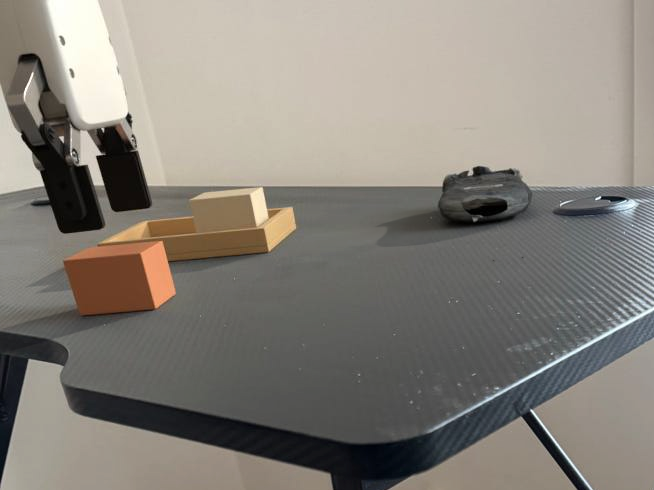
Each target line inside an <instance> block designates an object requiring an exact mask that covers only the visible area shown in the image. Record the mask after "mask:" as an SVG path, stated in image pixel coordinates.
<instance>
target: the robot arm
mask: <svg viewBox="0 0 654 490" xmlns="http://www.w3.org/2000/svg"><path fill="white" fill-rule="evenodd" d="M111 40H112V39H111V37H110V34H109V31H108V28H107V24H106V21H105V18H104V15H103V13H102V9H101V6H100V2H99V0H0V88H1V92H2V95H3V98H4V101H5V104H6V108H7V110H8V115H9V117H10V120H11V122H12V125H13V127H14V128H15V130H16V131H17V132H18V133H19V134H20V138H21V141H22V142H23V143H24V144H25V145H26V147H27V148H28V149H29V150H30V151H31V159H32V163H33V165H34V167H35V168H36V170H37V171H38V172H39V174H40V177H41V180H42V183H43V186H44V189H45V192H46V196H47V198H48V201H49V204H50V208H51V210H52V213H53V216H54V219H55V223H56V226H57V228H58V230H59V232H60V233H62V234H63V235H66V234H68V235H69V234H76V233H86V232H92V231H101V230H103V229H104V228H105V227H106V220H105V217H104V215H103V210H102V207H101V203H100V201H99V197H98V194H97V191H96V188H95V184H94V180H93V178H92V174H91V170H90V168H89V164H81V131H82V132H87V133H88V135H89V137H90V138H91V140H92V141H93V143H94V145H95V147H96V148H97V150H98V151H99V153H100V154H99V155H95V159H96V162H97V165H98V170H99V172H100V173H99V174H100V176H101V179H102V182H103V186H104V189H105V193H106V196H107V199H108V202H109V203H108V204H109V206H110V209H111V210H112V212H115V213H122V212H132V211H139V210H140V211H141V210H146V209H150V208H151V207H152V206H153V200H152V196H151V192H150V189H149V185H148V182H147V177H146V174H145V171H144V167H143V163H142V160H141V156H140V152H139V143H138V139H137V137H136V135H135V133H134V131H133V122H134V120H132V119H133V116H132V114H131V113H130V112H129V105H128V97H127V90H126V87H125V84H124V83H123V79H122V75H121V72H120V69H119V63H118V61H117V57H116V54H115V53H116V52H115V51H114V47H113V44H112V41H111ZM60 137H61V138H62V137H63V140H62V139H61V138H60Z"/></svg>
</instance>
